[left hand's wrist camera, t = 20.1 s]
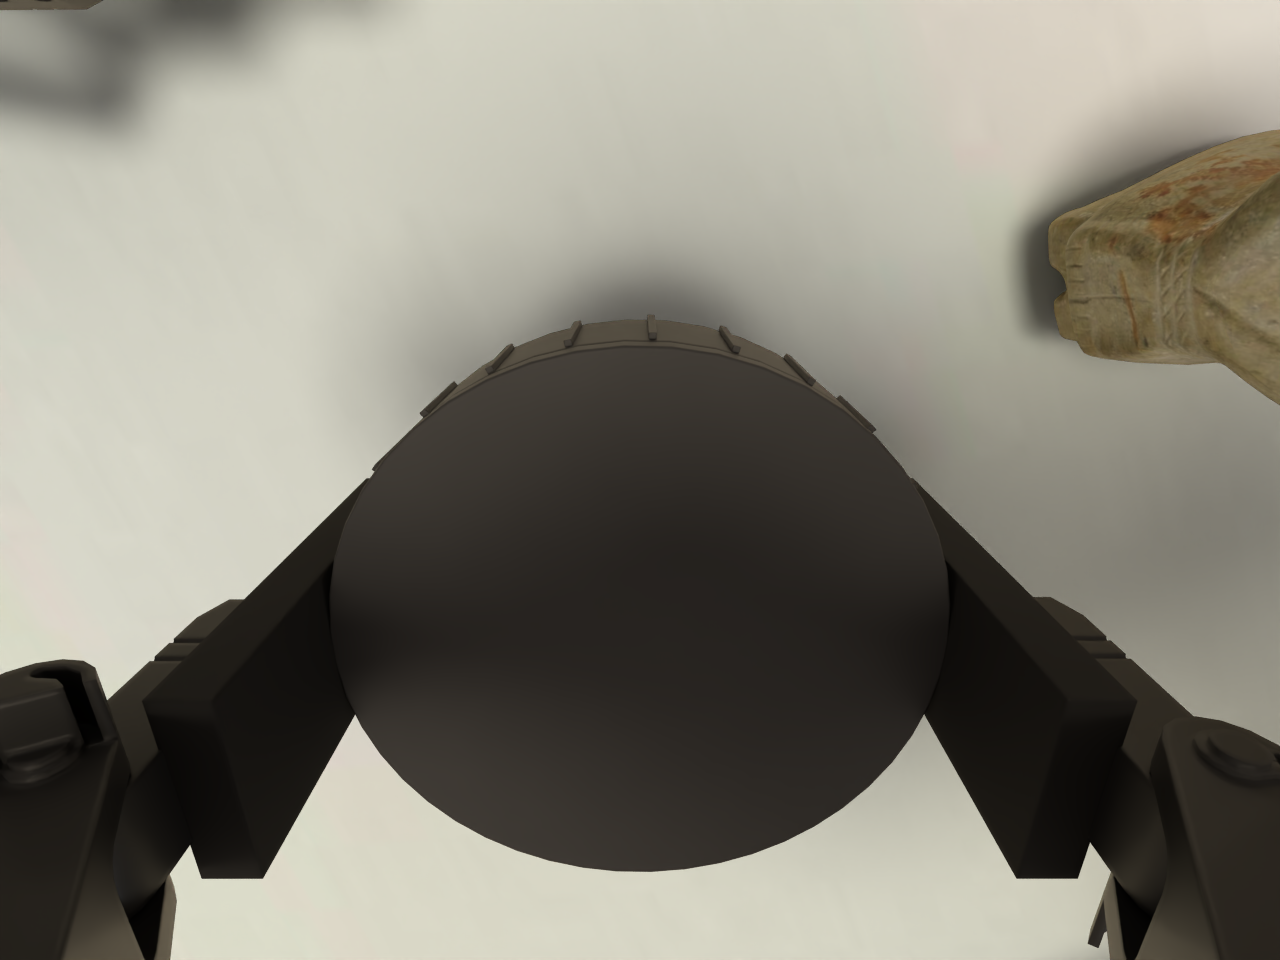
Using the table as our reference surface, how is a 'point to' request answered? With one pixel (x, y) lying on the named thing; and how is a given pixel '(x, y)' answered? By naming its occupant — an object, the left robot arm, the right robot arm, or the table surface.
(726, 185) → the table surface
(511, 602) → the lid
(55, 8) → the right robot arm
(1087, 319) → the sculpture
